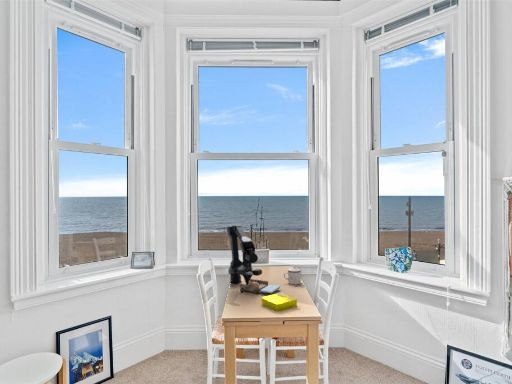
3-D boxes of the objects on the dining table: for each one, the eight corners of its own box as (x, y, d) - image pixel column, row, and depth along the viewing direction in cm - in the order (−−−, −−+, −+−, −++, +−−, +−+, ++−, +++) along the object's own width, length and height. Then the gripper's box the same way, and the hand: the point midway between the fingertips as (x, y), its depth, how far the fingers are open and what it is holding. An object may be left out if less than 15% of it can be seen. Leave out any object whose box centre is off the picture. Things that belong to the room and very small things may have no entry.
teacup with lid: (299, 280, 227) (299, 264, 227) (302, 284, 218) (302, 267, 218) (282, 281, 226) (282, 264, 226) (284, 285, 217) (284, 267, 217)
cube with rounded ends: (247, 287, 203) (247, 282, 203) (250, 286, 206) (250, 281, 206) (258, 288, 200) (257, 283, 200) (260, 287, 203) (260, 282, 203)
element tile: (260, 305, 180) (260, 296, 180) (280, 299, 188) (280, 291, 188) (277, 313, 168) (277, 303, 168) (298, 306, 176) (298, 297, 176)
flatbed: (239, 291, 203) (239, 284, 203) (251, 285, 217) (251, 278, 217) (259, 294, 196) (259, 287, 196) (270, 287, 211) (270, 280, 211)
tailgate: (260, 290, 197) (271, 291, 194) (269, 284, 210) (280, 285, 206) (260, 291, 197) (271, 293, 194) (269, 286, 210) (280, 287, 206)
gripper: (227, 261, 203) (228, 286, 202) (254, 263, 194) (254, 289, 194) (236, 258, 212) (237, 281, 212) (262, 260, 204) (262, 285, 204)
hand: (247, 284), depth 205 cm, fingers closed
